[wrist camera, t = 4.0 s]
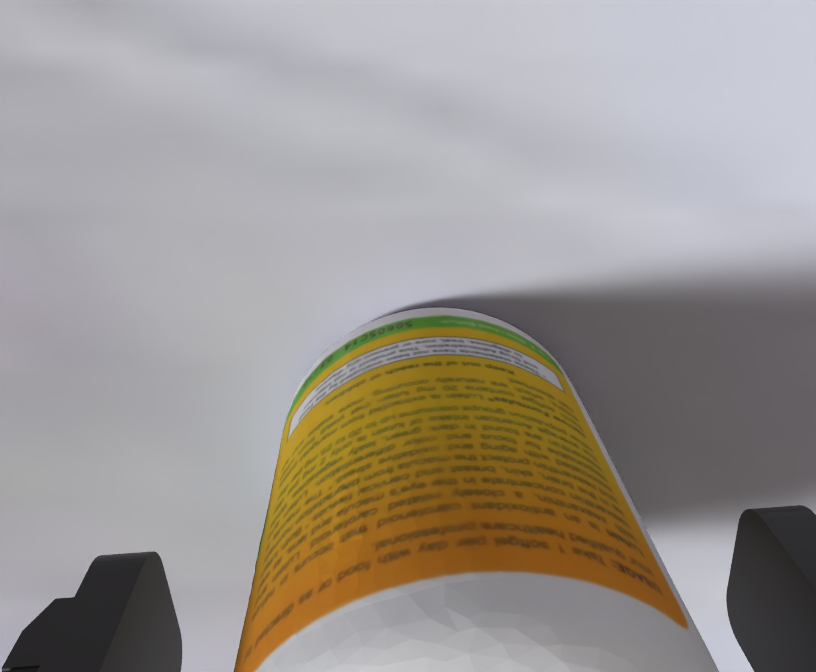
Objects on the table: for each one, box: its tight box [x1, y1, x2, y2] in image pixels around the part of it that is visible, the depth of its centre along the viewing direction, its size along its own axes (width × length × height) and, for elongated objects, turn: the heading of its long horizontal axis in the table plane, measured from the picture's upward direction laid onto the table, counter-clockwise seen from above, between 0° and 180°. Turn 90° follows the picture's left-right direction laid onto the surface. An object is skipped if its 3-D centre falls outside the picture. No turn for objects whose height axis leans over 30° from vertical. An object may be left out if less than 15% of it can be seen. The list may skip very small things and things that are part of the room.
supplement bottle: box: [234, 308, 719, 672], centre depth 9 cm, size 5×5×10 cm
